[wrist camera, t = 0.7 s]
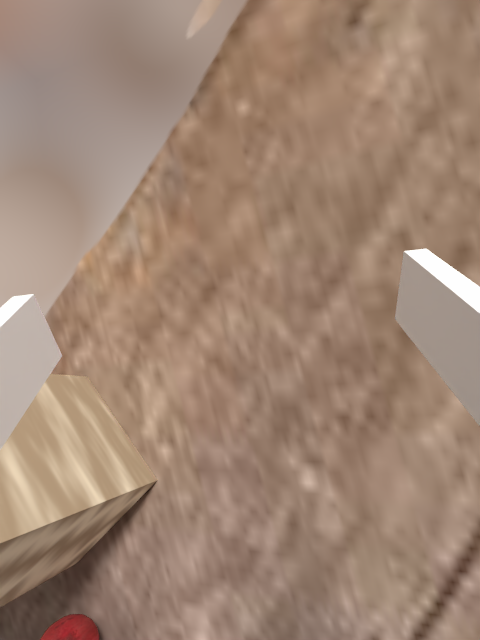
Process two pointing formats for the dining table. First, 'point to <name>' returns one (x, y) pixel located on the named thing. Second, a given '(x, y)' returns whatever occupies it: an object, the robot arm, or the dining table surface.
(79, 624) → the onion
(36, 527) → the shelf stand
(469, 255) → the dining table surface
